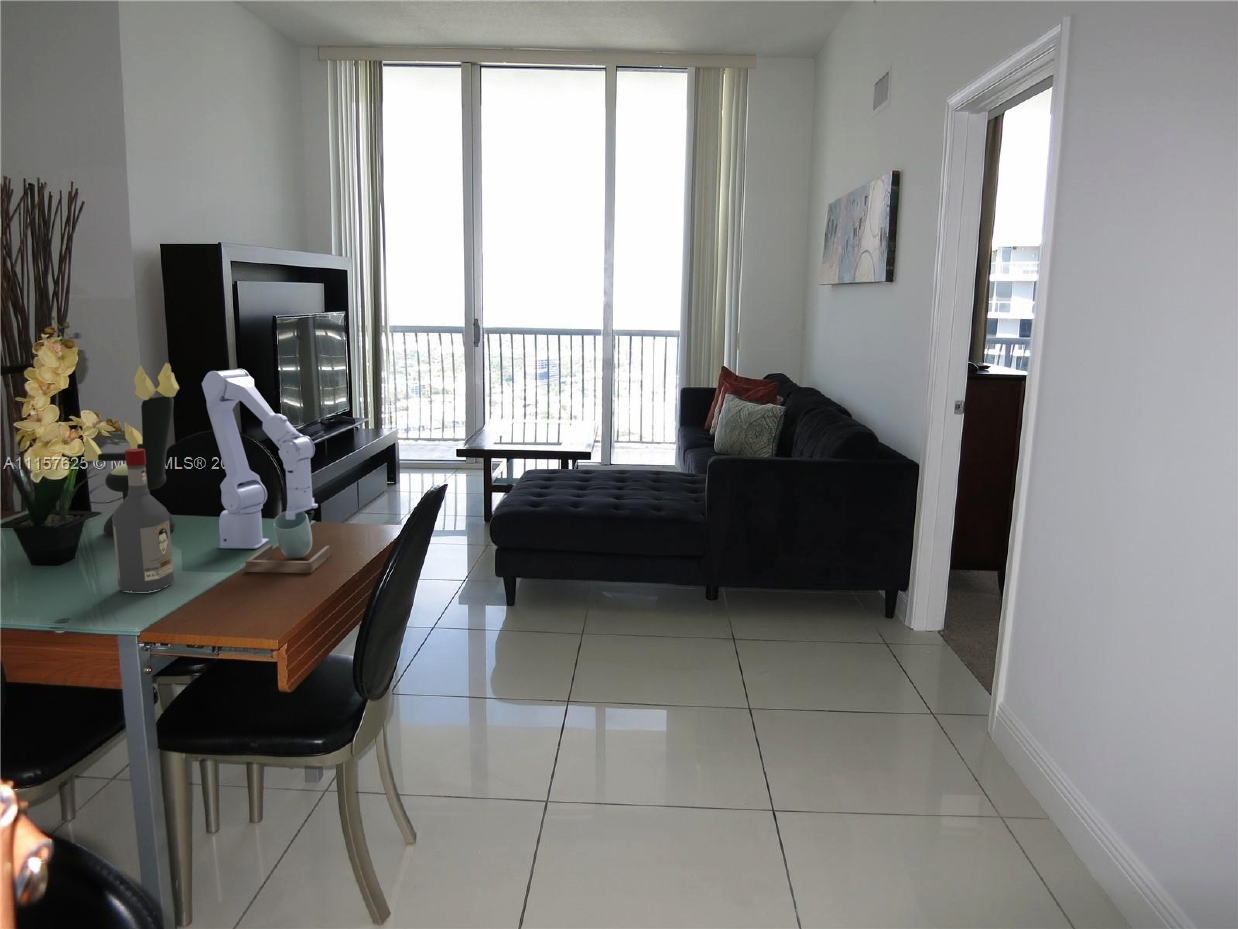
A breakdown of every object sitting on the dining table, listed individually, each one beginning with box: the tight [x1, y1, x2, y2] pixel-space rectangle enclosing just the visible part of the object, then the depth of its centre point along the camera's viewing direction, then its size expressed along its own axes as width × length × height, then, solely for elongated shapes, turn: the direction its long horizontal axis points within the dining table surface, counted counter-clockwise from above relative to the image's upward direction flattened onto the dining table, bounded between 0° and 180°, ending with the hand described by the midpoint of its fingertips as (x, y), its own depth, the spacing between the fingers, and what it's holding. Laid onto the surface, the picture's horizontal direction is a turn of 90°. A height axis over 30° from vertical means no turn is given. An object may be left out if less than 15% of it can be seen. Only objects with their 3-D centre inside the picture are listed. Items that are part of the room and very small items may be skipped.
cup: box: [272, 510, 313, 559], centre depth 208 cm, size 8×8×10 cm
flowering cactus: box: [83, 362, 180, 539], centre depth 225 cm, size 19×22×45 cm
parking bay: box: [244, 544, 331, 574], centre depth 206 cm, size 15×14×2 cm
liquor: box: [112, 448, 175, 592], centre depth 185 cm, size 9×9×30 cm
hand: (302, 541), depth 213 cm, fingers closed, pressing on cup
